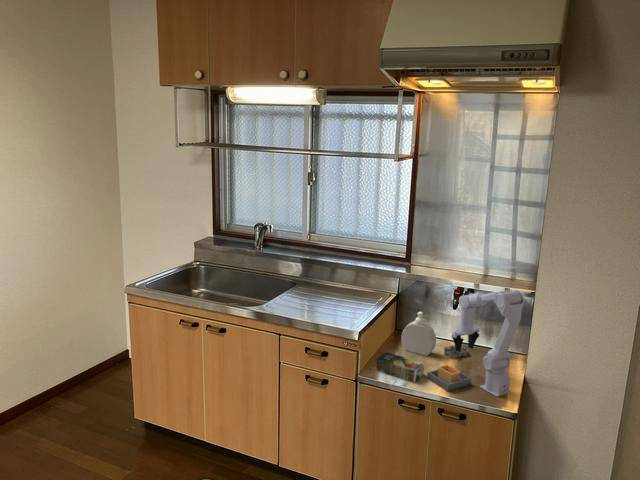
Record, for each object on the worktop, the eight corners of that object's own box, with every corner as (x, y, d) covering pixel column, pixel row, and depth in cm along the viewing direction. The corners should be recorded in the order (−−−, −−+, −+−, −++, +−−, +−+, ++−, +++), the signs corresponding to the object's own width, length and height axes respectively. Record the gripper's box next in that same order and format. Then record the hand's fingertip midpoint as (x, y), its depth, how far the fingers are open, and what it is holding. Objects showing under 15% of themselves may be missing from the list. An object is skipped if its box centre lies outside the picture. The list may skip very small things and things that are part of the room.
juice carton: (426, 375, 244) (427, 362, 243) (416, 383, 236) (417, 370, 235) (386, 363, 255) (386, 350, 254) (375, 371, 248) (375, 358, 246)
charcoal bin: (470, 384, 236) (471, 378, 235) (447, 391, 230) (448, 385, 229) (449, 372, 247) (450, 365, 246) (427, 378, 240) (427, 372, 240)
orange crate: (459, 382, 236) (460, 371, 235) (450, 385, 234) (451, 374, 232) (446, 374, 243) (446, 364, 242) (437, 377, 240) (438, 366, 239)
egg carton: (450, 359, 260) (451, 351, 259) (441, 353, 266) (441, 345, 266) (469, 356, 264) (469, 348, 263) (459, 349, 271) (460, 342, 270)
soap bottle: (400, 349, 269) (402, 310, 265) (404, 345, 274) (406, 307, 269) (431, 357, 261) (434, 317, 256) (435, 353, 265) (438, 314, 261)
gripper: (472, 315, 252) (469, 343, 255) (448, 320, 245) (445, 349, 248) (483, 320, 246) (481, 348, 249) (459, 326, 239) (457, 355, 242)
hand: (464, 349), depth 248 cm, fingers open, 7 cm apart
